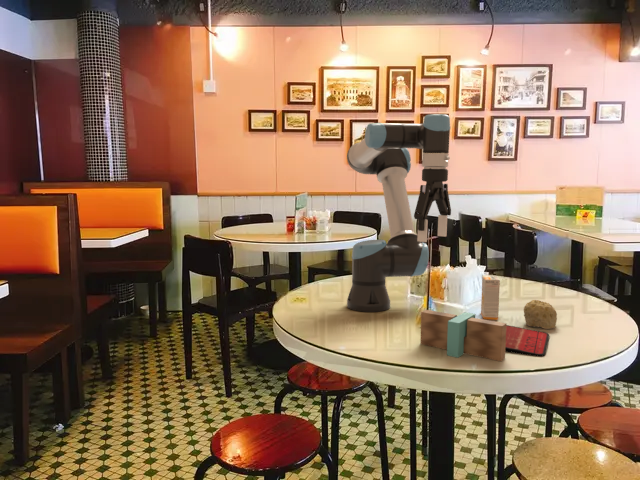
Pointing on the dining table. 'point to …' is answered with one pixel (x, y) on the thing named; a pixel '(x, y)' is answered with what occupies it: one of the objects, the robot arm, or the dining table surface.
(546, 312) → the decorative item
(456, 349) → the teal plate
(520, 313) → the dining table surface
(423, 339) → the walnut board
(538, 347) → the binder
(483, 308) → the supplement box
